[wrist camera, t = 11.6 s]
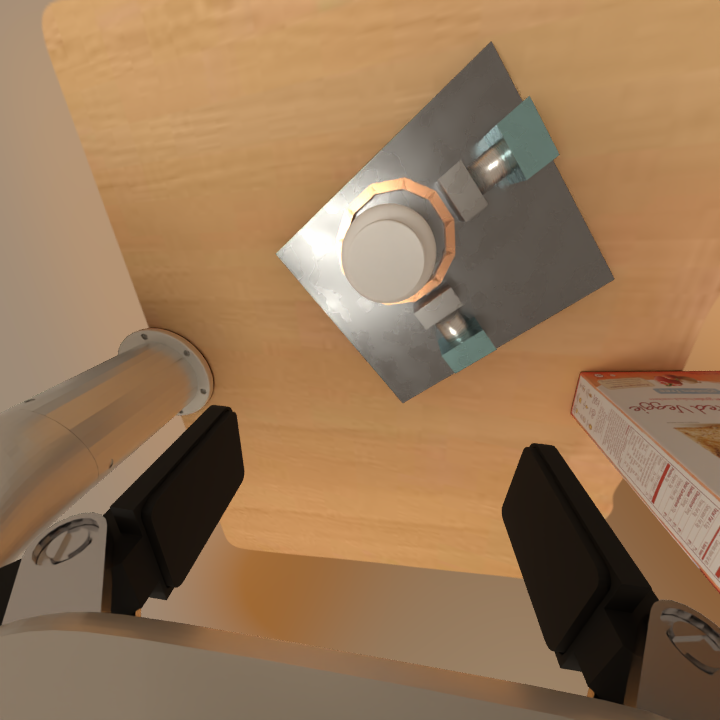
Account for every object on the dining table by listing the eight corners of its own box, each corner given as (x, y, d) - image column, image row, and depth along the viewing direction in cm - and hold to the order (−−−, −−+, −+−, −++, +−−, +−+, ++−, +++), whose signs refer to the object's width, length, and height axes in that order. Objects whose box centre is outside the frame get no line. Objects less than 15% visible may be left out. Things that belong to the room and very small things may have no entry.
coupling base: (402, 398, 38) (402, 423, 33) (279, 252, 32) (259, 259, 28) (608, 277, 29) (645, 288, 25) (488, 47, 24) (507, 8, 19)
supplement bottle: (422, 283, 31) (432, 323, 19) (357, 278, 31) (329, 314, 20) (432, 208, 28) (452, 203, 16) (360, 205, 28) (329, 197, 17)
